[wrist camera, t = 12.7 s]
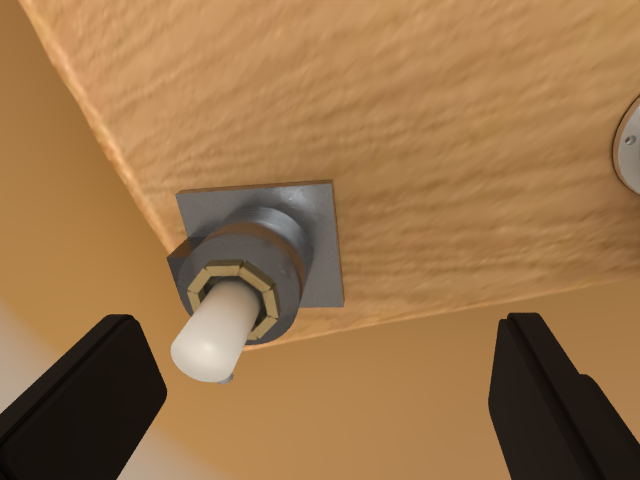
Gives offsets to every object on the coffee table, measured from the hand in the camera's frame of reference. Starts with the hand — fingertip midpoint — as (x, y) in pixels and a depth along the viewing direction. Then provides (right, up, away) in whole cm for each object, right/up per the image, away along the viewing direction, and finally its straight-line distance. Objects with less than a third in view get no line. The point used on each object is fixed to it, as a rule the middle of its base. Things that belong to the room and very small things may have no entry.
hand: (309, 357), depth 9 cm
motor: (-6, +2, +34) cm, 35 cm away
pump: (-8, -2, +25) cm, 26 cm away
